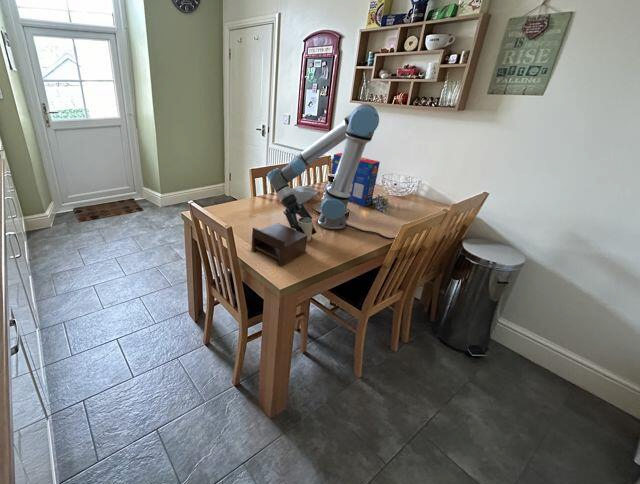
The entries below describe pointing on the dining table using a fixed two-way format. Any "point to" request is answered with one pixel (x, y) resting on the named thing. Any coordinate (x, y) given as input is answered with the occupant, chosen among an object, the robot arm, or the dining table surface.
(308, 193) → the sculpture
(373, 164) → the pasta box
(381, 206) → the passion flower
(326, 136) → the robot arm
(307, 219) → the cup
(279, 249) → the shelf
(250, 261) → the dining table surface
